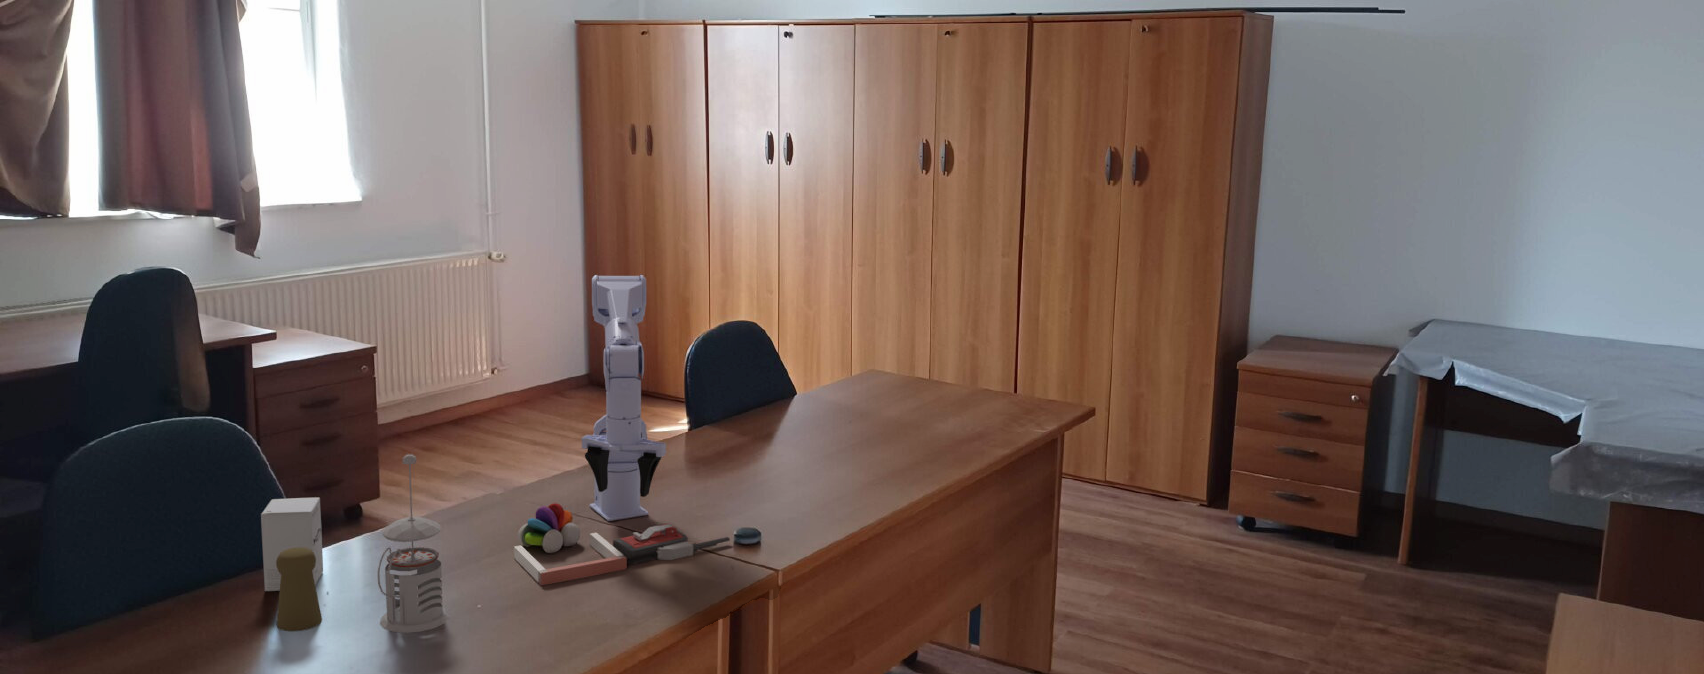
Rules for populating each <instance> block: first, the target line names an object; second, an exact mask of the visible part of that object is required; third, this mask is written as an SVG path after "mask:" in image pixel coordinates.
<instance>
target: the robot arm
mask: <svg viewBox="0 0 1704 674" xmlns="http://www.w3.org/2000/svg"><path fill="white" fill-rule="evenodd" d="M591 306H592V316H593V318H594V322H596V323H598V324H600V325H602V326H603V327H604V337H605V343H604V344H605V348H604V349H603V375H604V380H605V381H604V382H605V383H604V385H605V391H606V392H605V393H606V394H605V395H606V398H605V399H606V401H605V402H606V403H605V405H606V409H605V410H606V411H605V412H606V414H604V415H603V416H602V417H601V418H600V419H598V420H596V422H595V424H594V425H593V434H586V435H584V436H582V437H581V449H583V450H586V451H587V452H585V453H584V458H585V460H586V461H587V463H588V464H589V467H590V469H591V471H592V473H593V476H594V477H593V479H594V483H593V484H594V485H593V486H594V487H593V490H594V495H593V496H594V501H593V503H589V507H590V508H591V509H592V510H594V511H595V512H596V513H598V514H599V515H600V516H601V517H602V518H604V519H605V520H606V521H609V522H612V521H618V520H623V519H630V518H636V517H642V516H647V515H649V512H648V510H646V509H645V508H643V507H642V506H641V497H642V498H644V497H645V498H646V496H648V495H649V494H650V488H651V485H652V481H653V477H654V475H655V471H656V470H657V468H658V466H659V464H660V462H661V460H662V457H664V456H665V455H667V443H666V442H661V441H659V442H658V441H656V440H655V441H654V440H651V439H648V432H647V424H646V423H645V421H644V420H643V419H642V379H643V377H644V373H645V353H644V352H645V351H644V348H643V344H642V342H641V341H640V331H639V326H638V324H639V323H642V322H643V321H644V317H645V316H646V315H645V314H646V307H647V278H646V277H645V276H644V274H640V275H598V274H595V275H593V276H592V278H591ZM639 375H640V376H641V377H640V376H639Z"/></svg>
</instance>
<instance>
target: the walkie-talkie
mask: <svg viewBox="0 0 1704 674" xmlns="http://www.w3.org/2000/svg"><path fill="white" fill-rule="evenodd" d="M688 539H689V538H688V536H687V535H685V534H684V533H682V532H680V531H679V530H678V529H677V528H676V527H674V526H672V525H671V524H670V523H664V524H663V523H662V524H661V525H654V526H649V527H648V528H647V529H646V530H644V531H643V532H642V533H639V532H637V531H636V532H633V533H632V535H630V536H626V537H620V538H617V539H616V538H615V539H613V540H612V546H613V547H614V548H616V549H617V550H618V551H619V552H621V553H622V554H623V555H624V556H625V557H627V564H628V565H636V564H640V563H643V562H647V561H652V560H660V561H661V560H663V561H673V560H677V559H681V558H686V557H692V556H694V552H697V551H698V550H703V549H707V548H711V547H716V546H717V545H719V544H722V543H726V542H730V541H731V538H730V537H729V536H725V537H720V538H716V539H712V540H707V541H703V542H698V543H696V542H695V543H691V542H688V541H689V540H688Z"/></svg>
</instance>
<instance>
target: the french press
mask: <svg viewBox="0 0 1704 674" xmlns="http://www.w3.org/2000/svg"><path fill="white" fill-rule="evenodd" d="M416 463H417V457H416V455H414V454H406V455H404V457H402V464H403V465H408V474H409V475H408V476H409V477H408V478H409V480H408V481H409V502H410V503H409V508H410V517H404V518H402V519H397V520H395V521H394V522H391V523H390V524H388V525H387V526H385V527H384V528H383V529H382V532H381V534H382V536H383V537H384V538H385V539H386V540H388V541H393V542H397V543H407V542H410V543H411V547H407V548H398V549H397V550H395V551H392V548H391V547H387V548H386V549H385V551H383V553H382V555H381V558H380V559H379V562H378V563H379V564H378V568H377V585H378V588H379V589H380V592H381V594H382V595H384V596H385V598H386V599H385V600H386V613H385V614H383V616H382V617H381V618H380V620H379V625H380V626H381V627H382V628H383V629H384V630H387V631H390V632H394V633H404V634H405V633H406V634H408V633H409V634H410V633H419V632H424V631H425V632H426V631H428V630H433V629H436V628H437V627H440V626H442V625H444V624H445V623H446V622H447V621H448V620H450V617H451V615H450V614H451V613H450V612H449V610H447V609H446V608H445V607H444V605H443V596H442V595H443V588H442V587H443V581H442V580H441V579H442V578H443V577H442V576H443V575H442V574H443V573H442V562H441V560H439V559H438V558H439V556H440V555H439V554H440V553H439V552H438V551H436V549H434V548H430V547H422V546H419V547H414V542H417V541H423V540H427V539H430V538H432V537H435V536H436V535H438V534H439V533H440V532H441V531H442V525H440V524H439V523H438V522H437V521H434V520H433V519H428V518H425V517H421V516H417V517H416V516H413V503H412V502H413V501H412V499H413V498H412V497H413V496H412V495H413V494H412V472H411V465H413V464H416ZM388 551H389V555H387V556H386V561H387V562H388V563H387V564H386V566H385V568H384V572H385V573H384V576H385V577H384V579H385V592H384V590H383V588H382V585H381V580H380V579H381V578H380V570H381V567H382V562H383V559H384V557H385V555H386V553H387V552H388ZM391 571H396V572H412V571H416V573H414V574H411V575H409V574H405V575H403V574H402V575H400V574H393V573H391ZM395 580H398V582H395ZM396 588H398V589H399V590H398V591H397V590H396Z"/></svg>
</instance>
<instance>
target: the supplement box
mask: <svg viewBox="0 0 1704 674" xmlns="http://www.w3.org/2000/svg"><path fill="white" fill-rule="evenodd" d="M321 516H322V515H321V498H320V497H295V498H293V497H291V498H274V499H273V498H272V499H270V501H269V502H268V503H267V505H266V507H265V508H264V510H263V511H262V512H261V513H260V526H261V541H262V545H261V546H262V559H263V560H262V562H263V581H264V591H265V592H275V591H276V592H278V591H279V592H280V581H281V574H280V573H279V572H278V569H277V566H276V560H277V557H278V556H279V554H280V553H281V552H283V551H284V550H287V549H290V548H296V547H304V548H308V549H310V550H312V551H313V552H314V554H315V557H316V564H315V567H314V569H313V570H312V572H313V577H314V582H315V587H316V586H317V583H318V581H319V579H320V578H321V576H322V574H323V573H324V563H323V561H324V560H323V559H324V558H323V557H324V556H323V537H322V535H323V534H322V533H323V531H322V519H321V518H322V517H321Z"/></svg>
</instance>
